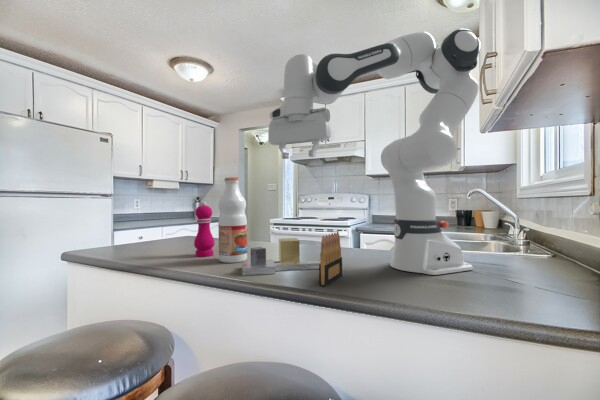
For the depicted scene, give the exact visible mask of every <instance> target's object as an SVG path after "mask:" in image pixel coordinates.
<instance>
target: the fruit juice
mask: <svg viewBox="0 0 600 400" xmlns="http://www.w3.org/2000/svg"><path fill="white" fill-rule="evenodd" d="M224 183H225V188H224V191H223V194H222V196H220V198H219V200H218V210H219V215H218V220H217V221H218V225H217V226H218V259H219V262H221V263H226V264H227V263H231V264H235V263H240V262H242V263H243V261H247V259H248V219H247V215H246V208H247V201H246V199H245V197H244V196H243V195H242V193H241V190H240V186H239V183H240V177H232V176H230V177H224Z"/></svg>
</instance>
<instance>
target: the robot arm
mask: <svg viewBox="0 0 600 400" xmlns="http://www.w3.org/2000/svg"><path fill="white" fill-rule="evenodd" d="M435 41H436V40H435V39H434V37H433V35H432V34H431V33H429V32H427V31H418V32H412V33H408V34H404V35H402V36H400V37H396V38H393V39H391V40H389V41H387V42H384V43H383V44H379V45H375V46H373V47H369V48H365V49H363V50H358V51H357V52H352V53H330V54H327V55H325V56H324V57H323V58H322V59H320V61H319V62H318V63H317V62H316V61H315V60H313V59H312V58H311V56H310V55H308V54H296V55H294V56H292V57H290V59H288V60H287V62H286V64H285V66H284V74H283V75H284V78H283V89H284V92H285V93H284V98H283V104H281V105H280V106H279V107H277V108H275V109H274V110H271V111H270V113H269V118H270V119H271V120H270V122H269V124H268V134H267V135H268V137H267V139H268V142H269V144H270V145H273V146H278V149H279V151H280V153H281V159H284V160H286V159H287V160H288V159H289V158H290V154H289V152H287V151H286V148H287V145H295V144H302V143H311V145H312V146H311V149H310V150H308V157H309V158H315V157H316V155H317V154H316V151H317V150H318V148H319V146H320V142H324V141H329V140H330V138H331V135H332V132H331V123H330V121H331V111H330V109H328V108H326V107H320V108H314V103H315V104H319V105H331V104H333V103H335V102H336V101H337V100H338V99H339V97H340V96H341V95H342V94H343V92H344V91H345V90H346V89H348V87H350V85H351V84H352V83H353V82H354V81H356V79H358V78H360V77H363V76H366V75H369V74H372V73H375V72H377V74H378V75H379V76H380V77H381V78H383V79H385V80H390V79H396V78H399V77H401V76H405V75H407V74H409V73H411V72H414V71H415V77H416V79H417V80H418V83H419V84H420V86H421V88H423V90H425V91H426V92H428V93H430V94H435V95H434V96H433V97H432V98H431V100H430V101H429V103H427V105H426V107H425V108H424V109H423V110H422V112H421V113H420V116H419V117H418V119H419V120H418V121H419V125H420V126H419V128H418V129H417V130H416V131H415V132H414V133H412V134H411V135H408V136H406V137H402V138H398V139H395V140H393V141H392V142H390V143H389V144H387V145H386V146H385V147H384V148H383V149H382V152H381V154H380V161H381V165H382V166H383V168H384V169H385V170H386V171H387V173H388V175H389V177H390V180H391V183H392V186H393V190H394V198H395V199H394V201H395V202H394V203H395V218H394V221H393V235H394V247H393V252H392V258H391V260H390V263H389V264H390V267H391V268H393V269H396V270H400V271H404V272H411V273H417V274H420V273H421V274H425V275H430V276H431V275H433V276H436V275H438V276H439V275H444V274H452V273H460V272H465V271H473V268H474V267H473V265H472V264H470V263H468V262H465V261H464V254H463V251H462V248H461V246H460V245H458V244H457V243H456V242H454V241H453V240H452V239H451V238H449V237H448V236H447V235H445V233H443V232H442V229H448V228H449V226H450V223H449V222H448V221H443V220H442V221H439V220H438V219H436V217H437V215H436V213H437V212H436V209H437V208H436V207H437V206H436V192H435V191H434V189H432V188H431V187H430V186H429V185H428V183H427V182H426V179H425V176H424V172H430V171H431V172H432V171H436V170H438V169H441V168H444V167H446V166H449V164H451V163H452V162H453V161H454V160H455V158H456V155H457V152H458V151H457V150H458V145H457V142H456V139H455V138H454V134H455V132H456V130H457V129H458V127H459V125H460V124H461V123H462V122H463V120H464V119H465V117H466V116H467V114H468V112H469V111H470V110H471V108H472V106H473V105H474V102H475V100H476V98H477V95H478V92H479V85H478V82H477V80H476V79H475V77H473V76H472V75H471V71H472V70H474V69H476V67H477V65H478V57H479V54H480V51H481V50H480V49H481V41H480V39H479V37H478V36H477V34H476V33H475V32H474V31H473V30H470V29H468V28H458V29H456V30H454V31H452V32H451V33H449V34H448V35H447V36H446V37H445V38H443V41H442V43H441V44H440V45H438V44H436V42H435Z"/></svg>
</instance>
